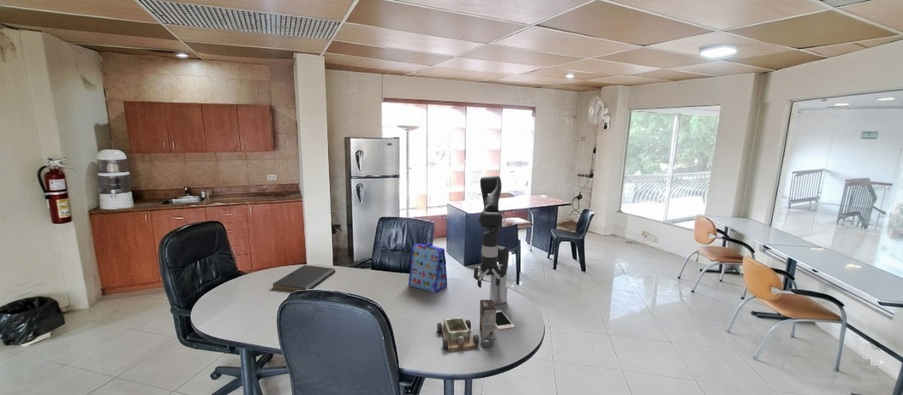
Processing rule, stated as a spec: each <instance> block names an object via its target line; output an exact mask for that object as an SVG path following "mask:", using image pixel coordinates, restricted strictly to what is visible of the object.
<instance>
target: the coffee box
mask: <svg viewBox="0 0 903 395" xmlns="http://www.w3.org/2000/svg"><path fill="white" fill-rule="evenodd" d="M479 301H480V302H479V332H480V336H481V340H482V339H483V338H489V339H491V340H495V339H496V326H495V324H496V311H497V306H496V304H494V302H493V300H490V299H480V300H479Z"/></svg>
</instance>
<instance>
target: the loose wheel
mask: <svg viewBox="0 0 903 395" xmlns="http://www.w3.org/2000/svg"><path fill="white" fill-rule="evenodd" d="M492 344H493V339H489V338H483V339H482V338H481V340H480V346H481V347H482V348H485V349H490V348H491V347H493V346H492Z"/></svg>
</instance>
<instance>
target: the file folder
mask: <svg viewBox="0 0 903 395" xmlns="http://www.w3.org/2000/svg"><path fill="white" fill-rule="evenodd" d="M335 273H336V269H335V268H332V267H324V266H318V265H317V266H316V265H306V264H304V265H302V266H300V267H299V268H296V269H295V270H293V271H292V272H290V273H289V274H287V275H285V276H283V277H282V278H280V279H278V280H277V281H275V282H273V283H272V289H273V290H281V291H290V292H296V291H297V290H306V289H311V290H312V289H314V288H315V287H317V286H318V285H319V284H321V283H322V282H323V281H325V280H326V279H328V278H329V277H330V276H332V275H333V274H335Z"/></svg>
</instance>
